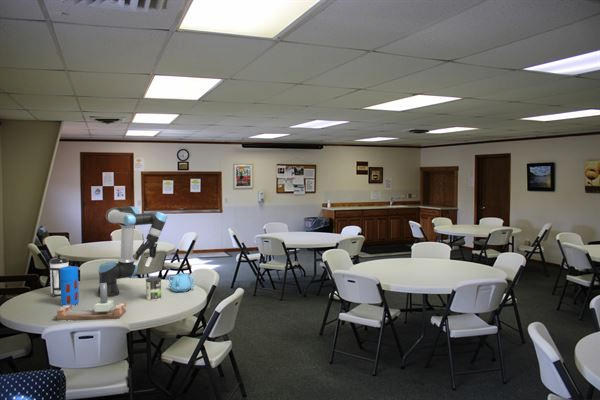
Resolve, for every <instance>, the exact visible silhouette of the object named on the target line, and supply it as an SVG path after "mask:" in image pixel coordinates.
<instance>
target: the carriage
mask: <svg viewBox="0 0 600 400" xmlns="http://www.w3.org/2000/svg"><path fill="white" fill-rule="evenodd" d="M99 285H100V297H99V298H100V300H99V301H98V302H97V303H95V304H94V309H95V312H101V311H109V310H110V309H113V308H114V300H113V299H112V300H111V299H110V300H108V297H107V283H100V284H99Z"/></svg>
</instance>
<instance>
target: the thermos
mask: <svg viewBox="0 0 600 400" xmlns="http://www.w3.org/2000/svg"><path fill="white" fill-rule="evenodd" d="M60 286H61V294H60V300H61V301H60V303H61V306H62V305H65V306H66V305H74V306H77V305H79V304H78V303H80V302H79V301H80V296H79V295H80V293H79V290H80V289H79V288H80V287H79V269H78V266H76V265H75V266H69V267H63V268H60ZM76 304H77V305H76Z"/></svg>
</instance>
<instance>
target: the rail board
mask: <svg viewBox="0 0 600 400" xmlns="http://www.w3.org/2000/svg"><path fill="white" fill-rule="evenodd" d="M126 303H127V302H120V303H117V304H115V308H111V309H110V310H109V311H101V312H95V308H93V309H73V306H72V305H66V306H62V305H60V307H59V309H58V310H56V317H57V320H66V321H65V322H67V321H68V320H73V321H92V320H93V321H95V320H117V319H119V320H120V319H121V318H122V316H123V315H125V314H126V313H127V307H126ZM57 320H56V321H57Z"/></svg>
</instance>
